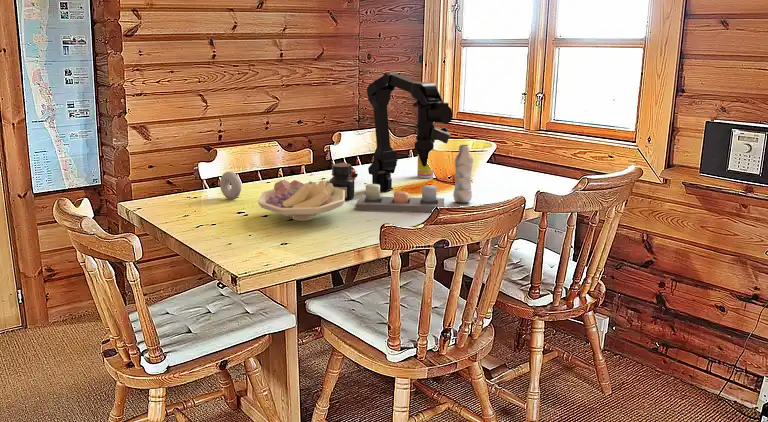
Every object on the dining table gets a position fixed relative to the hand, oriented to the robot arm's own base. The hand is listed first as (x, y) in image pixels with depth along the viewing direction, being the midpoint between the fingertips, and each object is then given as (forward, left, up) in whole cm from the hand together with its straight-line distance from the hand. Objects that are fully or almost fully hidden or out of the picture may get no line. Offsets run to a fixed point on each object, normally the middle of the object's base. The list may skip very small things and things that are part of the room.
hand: (424, 166), depth 235 cm
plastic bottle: (+12, +6, -13) cm, 18 cm away
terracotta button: (-3, -11, -12) cm, 17 cm away
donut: (-59, -33, -13) cm, 69 cm away
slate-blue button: (+6, -7, -10) cm, 13 cm away
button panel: (-3, -11, -12) cm, 17 cm away
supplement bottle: (-19, +38, -13) cm, 44 cm away
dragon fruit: (-41, +12, -13) cm, 45 cm away
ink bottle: (-27, -11, -13) cm, 32 cm away
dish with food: (-22, -40, -13) cm, 48 cm away
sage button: (-12, -15, -10) cm, 21 cm away
